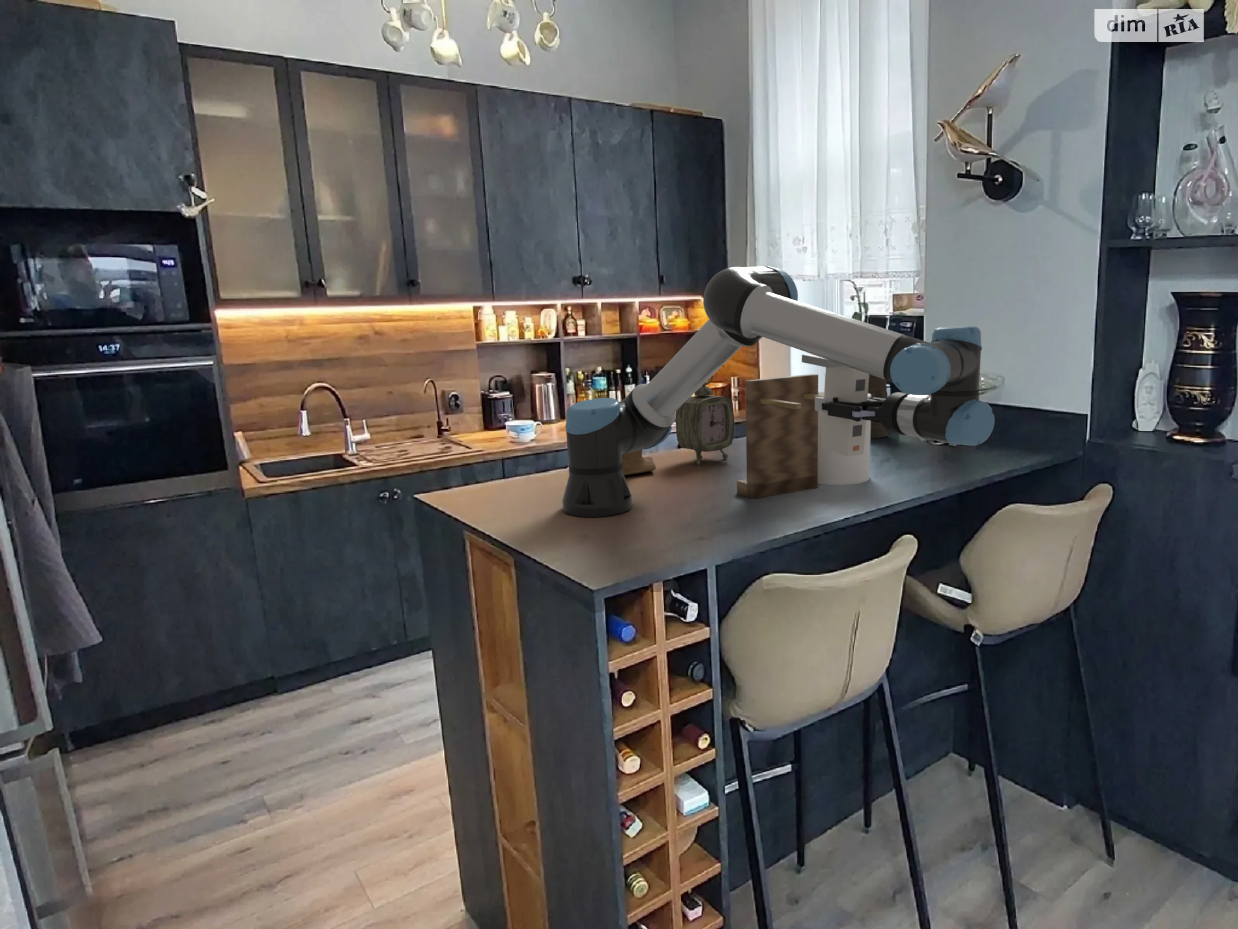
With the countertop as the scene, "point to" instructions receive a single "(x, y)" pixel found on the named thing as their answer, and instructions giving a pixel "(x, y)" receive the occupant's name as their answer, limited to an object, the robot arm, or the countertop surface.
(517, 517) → the countertop surface
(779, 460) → the bracket
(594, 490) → the robot arm
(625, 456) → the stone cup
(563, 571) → the countertop surface
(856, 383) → the power strip
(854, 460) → the canister
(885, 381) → the beer stein
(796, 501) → the countertop surface
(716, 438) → the tabletop clock
